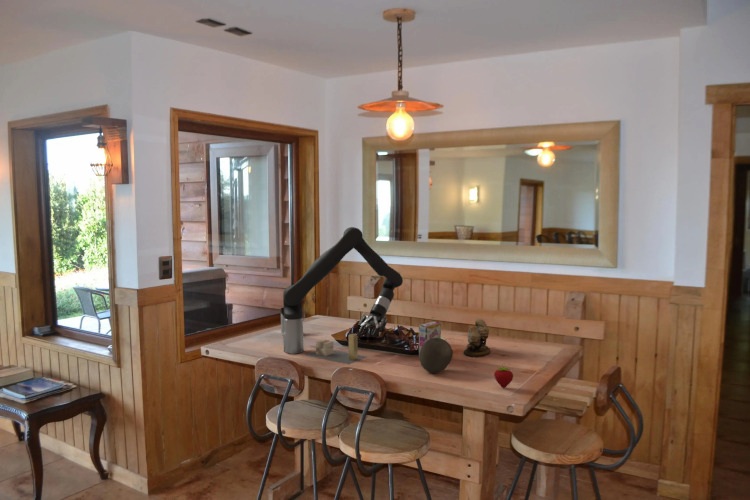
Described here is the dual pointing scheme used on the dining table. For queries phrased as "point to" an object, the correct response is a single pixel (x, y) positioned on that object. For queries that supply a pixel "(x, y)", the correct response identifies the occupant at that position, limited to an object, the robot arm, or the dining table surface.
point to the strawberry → (503, 376)
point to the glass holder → (283, 321)
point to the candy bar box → (428, 332)
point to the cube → (324, 347)
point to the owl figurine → (477, 340)
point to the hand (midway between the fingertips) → (366, 334)
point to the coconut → (435, 355)
